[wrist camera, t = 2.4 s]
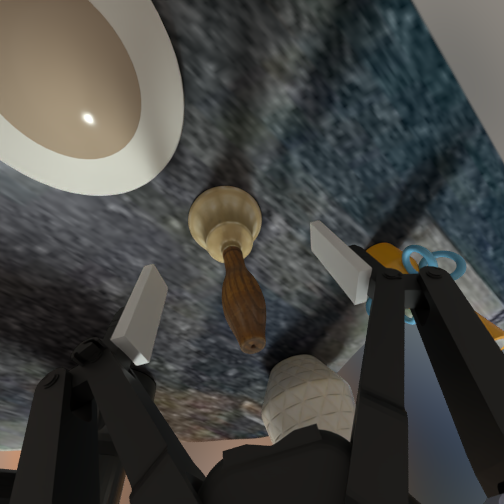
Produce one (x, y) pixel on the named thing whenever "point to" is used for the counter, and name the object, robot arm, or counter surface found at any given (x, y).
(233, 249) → the hand bell
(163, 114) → the hub plate
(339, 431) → the vase
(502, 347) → the cylinder
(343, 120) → the counter surface
